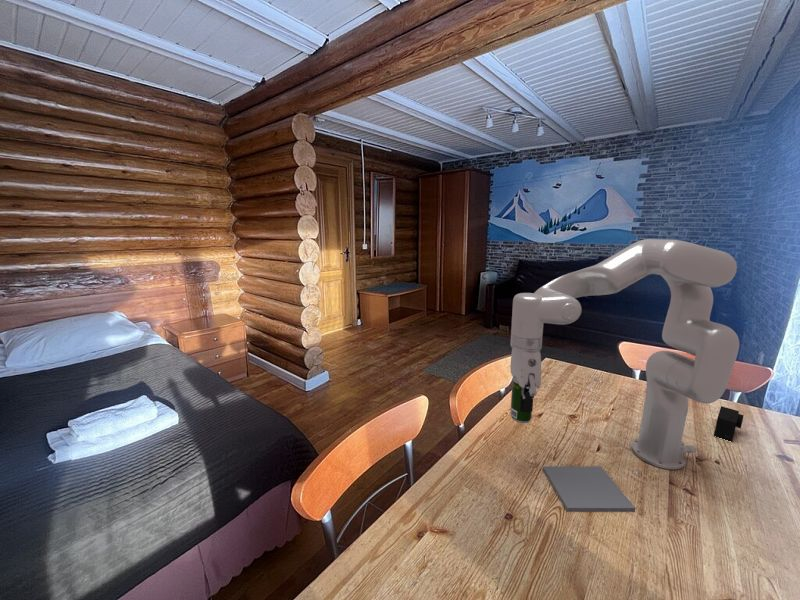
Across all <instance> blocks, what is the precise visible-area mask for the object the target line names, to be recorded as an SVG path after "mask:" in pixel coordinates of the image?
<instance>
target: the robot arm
mask: <svg viewBox="0 0 800 600" xmlns="http://www.w3.org/2000/svg"><path fill="white" fill-rule="evenodd" d="M737 269H738V264H737V261H736V259H735V258H734V256H732V255H731V254H729V253H728V252H727V251H726V252H725V251H723V250H719V249H715V248H711V247H708V246H704V245H700V244H696V243H692V242H689V241H684V240H680V239H668V238H667V239H664V238H663V239H661V238H646V239H645V238H644V239H642V240H638V241H636V242H634V243H632V244H630V245H628V246H626V247H624V248H622V250H620V251H618V252H616V253H614V254H612V255H611V256H609V257H608V258H605V259H603V260H602V261H600V262H599V263H596V264H594V265H591V266H588V267H585V268H582V269H579V270H576V271H572V272H568V273H566V274H563V275H561V276H559V277H557V278H555V279H552V280H551V281H548V282H547V283H546V284H544V285H542V286H541V287H539V288H538V289H537V290H536V291H535V292H533V293H532V292H520V293H517V294H515V295H514V297H513V299H512V312H511V313H512V314H511V315H512V316H511V328H510V347H511V356H510V369H509V371H510V373H511V374H510V375H511V376H512V378H513V377H514V376H515V378H516V379H517V382H518V384H519V385H520V386H521V392H522V397H520V407H519V411H520V412H532V413H533V406H534V399H535V397H536V395H538V394H537V393H538V392H537V389H540V388H541V385H542V355H541V350H542V345H543V334H544V324H552V325H553V324H554V325H569V324H572V323H574V322H576V321H577V320H578V319H579V318H580V317H581V314H582V305H581V302H580V301H579V300H578V299H577V298H582V297H588V296H589V297H590V296H605V295H612V294H617V293H619V292H620V291H622V290H624V289H626V288H628V287H629V286H631V285H633V284H634V283H636V282H638V281H639V280H641V279H643V278H646V277H647V276H650V275H653V274H654V275H657V276H658V275H659V276H661V277H662V278H663V279H664V281H665V282H666V283H667V285H668V287H669V289H670V302H669V306H668V309H667V313H666V317H665V320H664V324H663V328H662V332H661V339H662V341H663V342H664V343H665V344H666V345H668V346H669V347H671V348H674V349H676V350H679V351H680V352H683V353H686V354H689V355H692V356H695V359H693V358H690V357H688V356H685V355H683V354H680V353H677V352H674V351H669V350H659V351H656V352H654V353H652V354H651V355H650V356H649V357H648V359H647V361H646V364H645V378H646V389H645V398H644V404H643V409H642V417H641V422H640V429H639V434H638V438H637V439H634V440H632V442H631V444H630V449H631V451H632V453H634V454H635V455H636V457H637V458H639V459H640V460H641V461H644V462H646V463H647V464H649V465H652V466H654V467H657V468H662V469H665V470H681V469H683V468H684V467H685V466H686V459H685V457H684V456H683V455H686V454H687V453H688V454H696V453H697V452H698V451H697V448H696V447H695V446H694V445H685V443H684V442H683V436H684V430H685V425H686V420H687V415H688V411H689V399H690V400H692V401H694V402H697V403H700V404H712V403H715V402H717V401H718V400H719V399H720V398H721V397H723V395H724V392H725V391H726V389H727V387H728V384H729V381H730V377H731V376H732V375H731V374H732V372H733V369H734V367H735V364H736V360H737V357H738V354H739V350H740V339H739V336H738V334H737V332H735V331H734V330H733V328H731V327H730V326H727V325H725V324H722V323H719V322H714V321H711V319H710V318H711V313H712V308H713V306H714V294H713V291H712V288H718V287H722V286H724V285H726V284H728V283H729V282H730V281H731V282H732V280H733V279H734V277H735V275H736V274H737V271H738V270H737ZM525 384H529V386H525ZM525 389H529V391H528V392H526V393H525Z"/></svg>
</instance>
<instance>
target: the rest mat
mask: <svg viewBox="0 0 800 600" xmlns="http://www.w3.org/2000/svg"><path fill="white" fill-rule="evenodd" d="M542 472H543V473H544V475H545V476H546V478H547V480H548V481H549V483H550V485H551V487H552V488H553V490H554V492H555V493H556V496H557V497H558V499H559V501H560V503H562V505H563V507H564V509H565V510H566V512H576V513H577V512H581V513H582V512H587V513H588V512H594V513H595V512H598V513H599V512H606V513H607V512H609V513H610V512H612V513H614V512H617V513H618V512H619V513H620V512H623V513H625V512H626V513H630V512H636V507H635V505H633V503H632V501H630V499H629V498H628V497H627V496H626V495H625V494H624V492H623V491H622V490H621V489H620V487H619V486H618V485H617V484H616V483H615V482H614V480H613V479H612V478H611V477H610V475H609V474H608V473H607V472H606V471H605V470H604V468H603V467H602V466H599V465H598V466H594V465H593V466H589V465H587V466H585V465H584V466H581V465H579V466H575V465H574V466H573V465H572V466H571V465H568V466H567V465H566V466H563V465H562V466H561V465H560V466H557V465H556V466H554V465H551V466H550V465H548V466H547V465H545V466H543V465H542Z"/></svg>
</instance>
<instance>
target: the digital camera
mask: <svg viewBox="0 0 800 600" xmlns="http://www.w3.org/2000/svg"><path fill="white" fill-rule="evenodd" d="M743 421H744V414H740V411H739V410H736V409H734V408H729V407H726V406H723V405H722V406H720V409H719V412H718V416H717V419H716V423H715V428H714V433H713V436H716V437H719V438H722V439H725V440H728V441H731V442H732V443H733V440H734V436H735V432H736V428H738V429H742V424H743ZM716 437H715V438H716ZM719 438H718V439H719ZM722 439H721V440H722ZM725 440H724V441H725ZM728 441H727V442H728ZM731 442H730V443H731Z"/></svg>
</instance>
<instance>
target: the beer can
mask: <svg viewBox="0 0 800 600" xmlns="http://www.w3.org/2000/svg"><path fill="white" fill-rule="evenodd" d="M511 380H512V383H511V396H510V397H511V398H510V410H509V411H510V413H509V415H510V417H511V419H512V420H513V421H514V422H517V423H519V424H528V423H529V422H530V421H531V420H532V415H533V414H532V413H533V411H532V412H520V411H519V407H520V397H522V392H521V386H520V385H519V384H518V382H517V379H516V378H515V376H514V377H512V379H511ZM525 386H529V384H525ZM528 391H529V389H525V393H526V392H528Z"/></svg>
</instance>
